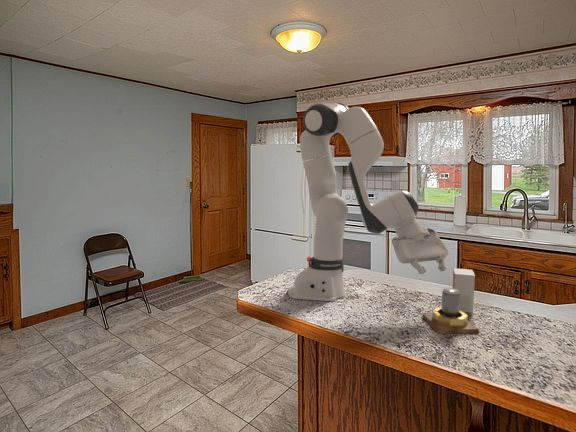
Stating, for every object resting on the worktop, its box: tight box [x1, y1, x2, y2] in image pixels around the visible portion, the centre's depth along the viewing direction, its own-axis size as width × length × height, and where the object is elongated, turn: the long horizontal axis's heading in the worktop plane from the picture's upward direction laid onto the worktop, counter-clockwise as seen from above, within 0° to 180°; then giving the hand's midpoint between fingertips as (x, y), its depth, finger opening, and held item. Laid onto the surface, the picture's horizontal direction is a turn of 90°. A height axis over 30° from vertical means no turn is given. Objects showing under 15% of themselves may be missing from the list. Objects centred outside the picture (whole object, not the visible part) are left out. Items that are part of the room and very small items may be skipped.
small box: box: [451, 267, 476, 314], centre depth 125 cm, size 8×6×13 cm
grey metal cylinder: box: [440, 287, 460, 318], centre depth 111 cm, size 5×5×10 cm
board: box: [422, 313, 480, 334], centre depth 112 cm, size 12×12×1 cm
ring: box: [431, 307, 468, 327], centre depth 111 cm, size 9×9×2 cm
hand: (433, 271), depth 116 cm, fingers open, 8 cm apart
